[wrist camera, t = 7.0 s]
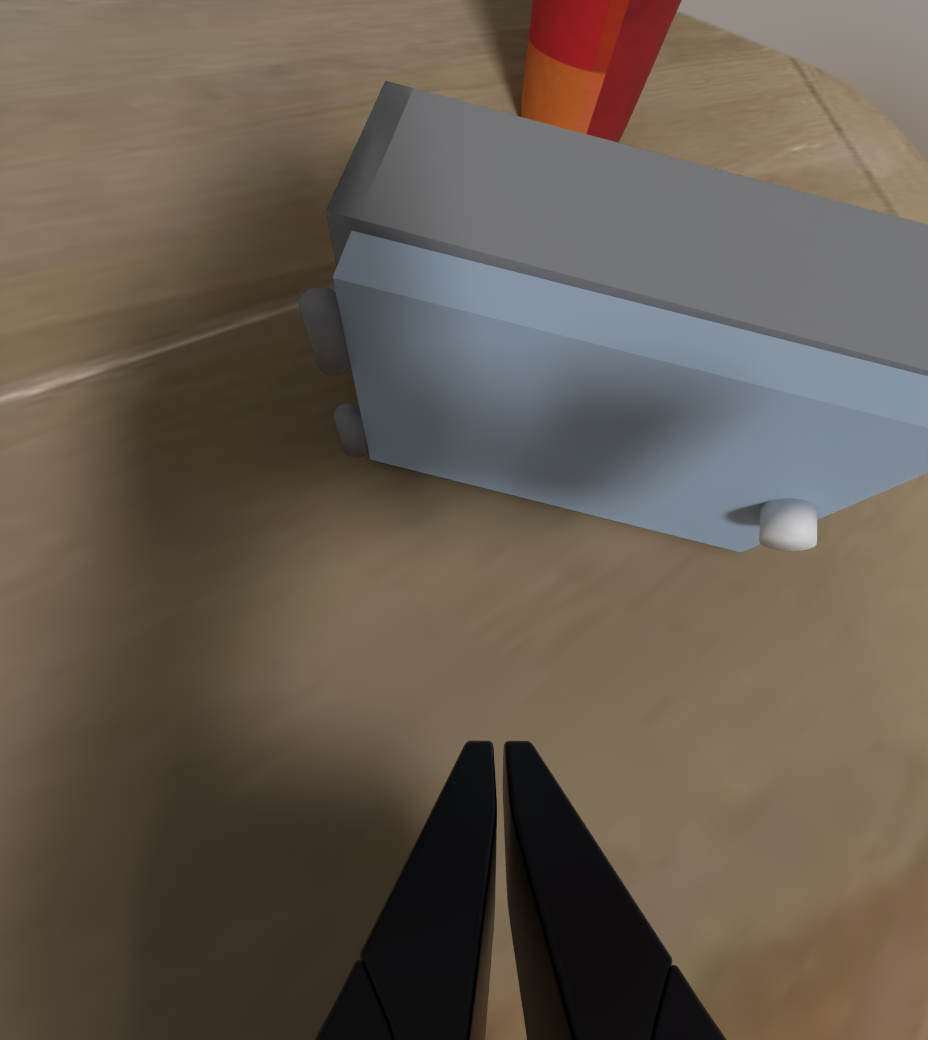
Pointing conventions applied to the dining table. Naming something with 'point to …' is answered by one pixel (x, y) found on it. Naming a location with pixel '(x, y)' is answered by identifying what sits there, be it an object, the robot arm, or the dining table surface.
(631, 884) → the dining table surface
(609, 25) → the coffee cup
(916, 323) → the cabinet
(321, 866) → the dining table surface
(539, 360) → the door
